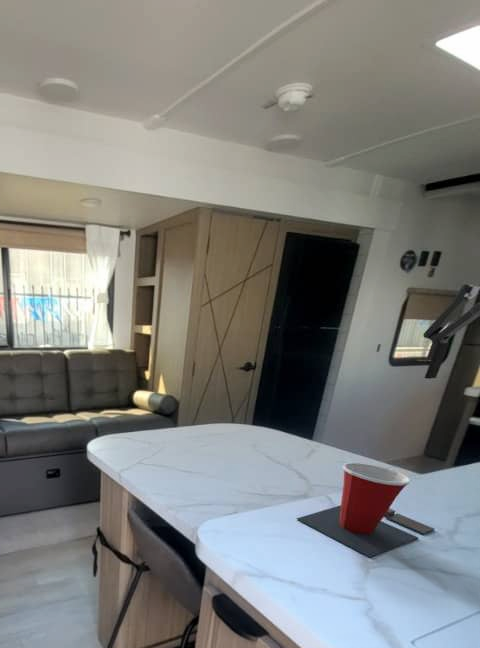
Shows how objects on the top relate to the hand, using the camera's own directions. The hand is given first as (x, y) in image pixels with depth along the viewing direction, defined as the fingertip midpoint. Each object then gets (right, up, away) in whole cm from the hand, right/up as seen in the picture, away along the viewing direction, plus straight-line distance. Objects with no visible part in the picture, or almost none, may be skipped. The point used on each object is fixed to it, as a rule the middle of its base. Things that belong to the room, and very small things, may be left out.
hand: (470, 384), depth 75 cm
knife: (-9, -25, +10) cm, 28 cm away
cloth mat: (-19, -27, +4) cm, 33 cm away
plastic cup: (-18, -27, +4) cm, 33 cm away
